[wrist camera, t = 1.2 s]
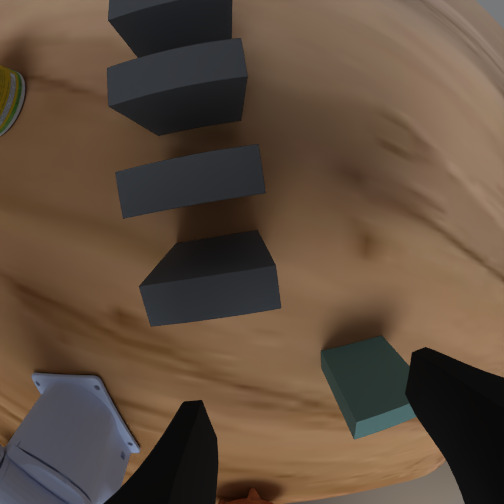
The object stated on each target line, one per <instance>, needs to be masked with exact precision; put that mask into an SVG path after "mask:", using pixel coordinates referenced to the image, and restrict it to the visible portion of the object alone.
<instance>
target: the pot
mask: <svg viewBox="0 0 504 504" xmlns="http://www.w3.org/2000/svg"><path fill="white" fill-rule="evenodd" d="M218 504H273V503H271V502H268V501H265V500H261V499H260V497H259V495H258V493H257V491H256V490H255V488H250V492H249V495H248V498H243V499H237V500H233V501H230V502H228V503H225V500H220V501H219V503H218Z"/></svg>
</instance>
